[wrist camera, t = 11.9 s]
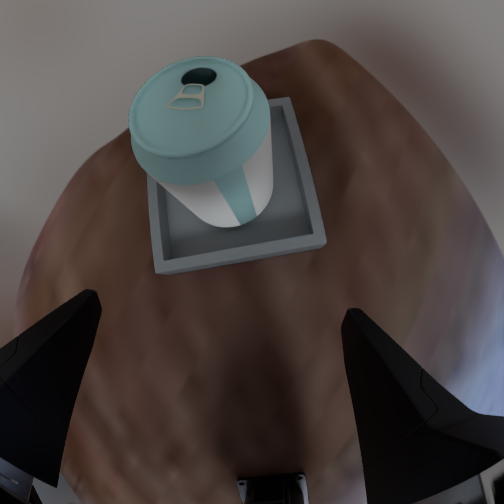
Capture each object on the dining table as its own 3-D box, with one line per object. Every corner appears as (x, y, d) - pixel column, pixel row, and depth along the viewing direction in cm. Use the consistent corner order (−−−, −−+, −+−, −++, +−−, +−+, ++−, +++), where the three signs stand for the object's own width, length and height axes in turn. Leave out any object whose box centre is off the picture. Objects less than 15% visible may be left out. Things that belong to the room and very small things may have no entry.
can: (176, 172, 23) (105, 91, 11) (250, 135, 23) (228, 30, 11) (208, 244, 22) (137, 201, 10) (288, 204, 22) (300, 121, 10)
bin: (320, 248, 22) (326, 242, 19) (169, 274, 23) (155, 273, 20) (288, 115, 24) (289, 96, 21) (158, 143, 25) (145, 128, 22)
